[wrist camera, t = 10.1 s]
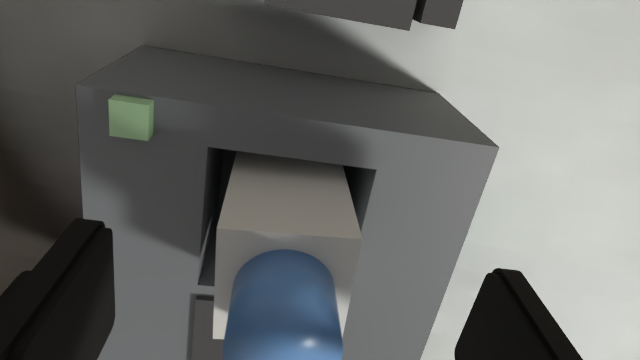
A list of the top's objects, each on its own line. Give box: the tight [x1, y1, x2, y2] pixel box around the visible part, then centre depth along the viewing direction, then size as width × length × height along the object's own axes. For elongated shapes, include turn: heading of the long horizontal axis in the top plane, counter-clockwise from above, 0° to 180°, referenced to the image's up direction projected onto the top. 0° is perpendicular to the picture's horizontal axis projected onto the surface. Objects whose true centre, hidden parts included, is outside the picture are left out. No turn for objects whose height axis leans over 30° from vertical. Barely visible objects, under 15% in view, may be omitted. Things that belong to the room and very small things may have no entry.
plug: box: [213, 151, 362, 360], centre depth 14 cm, size 4×4×10 cm
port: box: [75, 45, 499, 360], centre depth 17 cm, size 12×11×6 cm
